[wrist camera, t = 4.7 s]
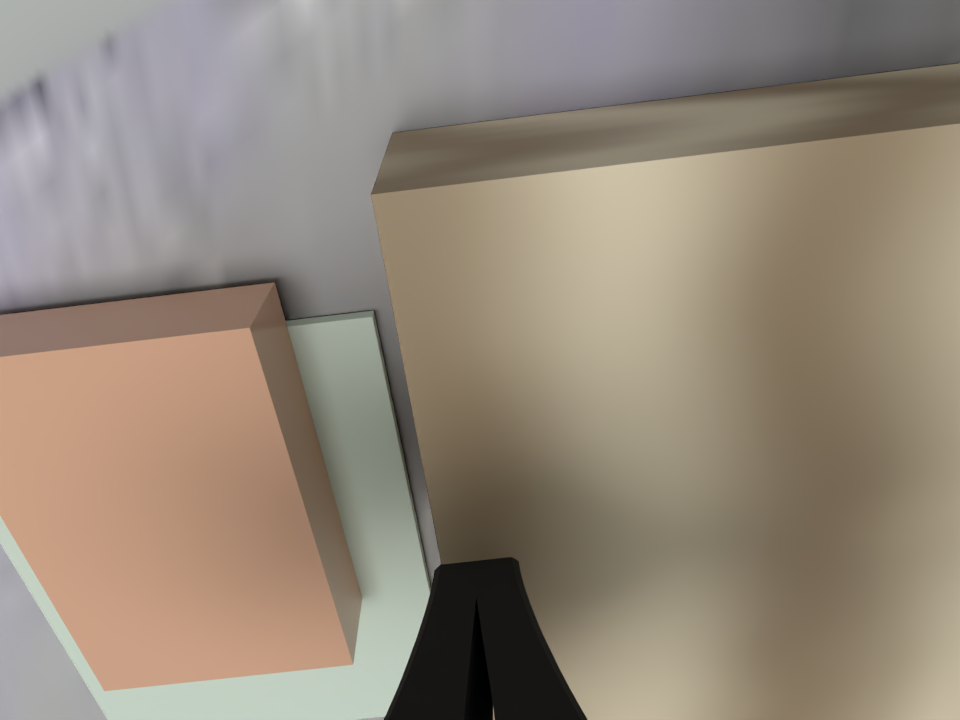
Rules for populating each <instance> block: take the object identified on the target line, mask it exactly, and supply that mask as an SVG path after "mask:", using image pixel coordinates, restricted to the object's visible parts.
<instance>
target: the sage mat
mask: <svg viewBox="0 0 960 720" xmlns="http://www.w3.org/2000/svg"><path fill="white" fill-rule="evenodd" d="M286 325H287V328H288V332H289V336H290V339H291V343H292V346H293V350H294V354H295V357H296V361H297V364H298V368H299V372H300V375H301V379H302V382H303V386H304V390H305V393H306V397H307V400H308V404H309V408H310V411H311V415H312V418H313V422H314V426H315V429H316V433H317V436H318V440H319V444H320V447H321V451H322V454H323V458H324V462H325V465H326V469H327V473H328V476H329V480H330V483H331V487H332V491H333V494H334V498H335V501H336V505H337V509H338V512H339V516H340V519H341V523H342V527H343V530H344V534H345V537H346V541H347V545H348V548H349V552H350V555H351V559H352V563H353V566H354V570H355V573H356V577H357V581H358V584H359V588H360V592H361V595H362V605H361V612H360V619H359V626H358V634H357V641H356V648H355V655H354V663H353V665H347V666H337V667H328V668H319V669H309V670H300V671H290V672H281V673H272V674H262V675H253V676H243V677H234V678H225V679H215V680H206V681H196V682H187V683H178V684H168V685H159V686H149V687H140V688H131V689H121V690H112V691H104V690H103V688H102V686H101V685H100V683H99V681H98V680H97V678H96V676H95V675H94V673H93V671H92V669H91V668H90V666H89V664H88V663H87V661H86V659H85V658H84V656H83V654H82V653H81V651H80V649H79V648H78V646H77V644H76V643H75V641H74V639H73V637H72V636H71V634H70V632H69V631H68V629H67V627H66V626H65V624H64V622H63V621H62V619H61V617H60V616H59V614H58V612H57V611H56V609H55V607H54V605H53V604H52V602H51V600H50V599H49V597H48V595H47V594H46V592H45V590H44V589H43V587H42V585H41V584H40V582H39V580H38V579H37V577H36V575H35V573H34V572H33V570H32V568H31V567H30V565H29V563H28V562H27V560H26V558H25V557H24V555H23V553H22V552H21V550H20V548H19V547H18V545H17V543H16V541H15V540H14V538H13V536H12V535H11V533H10V531H9V530H8V528H7V526H6V525H5V523H4V521H3V520H2V518H1V516H0V544H1V545H2V547H3V549H4V550H5V552H6V554H7V555H8V557H9V558H10V560H11V562H12V563H13V565H14V567H15V568H16V570H17V572H18V573H19V575H20V576H21V578H22V580H23V581H24V583H25V585H26V586H27V588H28V590H29V591H30V593H31V595H32V596H33V598H34V599H35V601H36V603H37V604H38V606H39V608H40V609H41V611H42V613H43V614H44V616H45V618H46V619H47V621H48V622H49V624H50V626H51V627H52V629H53V631H54V632H55V634H56V636H57V637H58V639H59V641H60V642H61V644H62V645H63V647H64V649H65V650H66V652H67V654H68V655H69V657H70V659H71V660H72V662H73V664H74V665H75V667H76V668H77V670H78V672H79V673H80V675H81V677H82V678H83V680H84V682H85V683H86V685H87V686H88V688H89V690H90V691H91V693H92V695H93V696H94V698H95V700H96V701H97V703H98V705H99V706H100V708H101V709H102V711H103V713H104V714H105V716H106V718H107V719H108V720H356V719H365V718H375V717H384V716H386V714H387V711H388V709H389V707H390V704H391V702H392V700H393V698H394V695H395V693H396V691H397V688H398V686H399V684H400V681H401V679H402V676H403V673H404V671H405V668H406V665H407V663H408V660H409V657H410V654H411V652H412V649H413V646H414V644H415V641H416V638H417V635H418V632H419V629H420V626H421V623H422V620H423V617H424V613H425V610H426V606H427V603H428V599H429V595H430V591H431V586H430V582H429V577H428V572H427V567H426V562H425V557H424V552H423V547H422V543H421V538H420V533H419V528H418V523H417V518H416V513H415V509H414V504H413V499H412V494H411V489H410V484H409V479H408V475H407V470H406V465H405V460H404V455H403V450H402V445H401V441H400V436H399V431H398V426H397V421H396V416H395V411H394V407H393V402H392V397H391V392H390V387H389V382H388V377H387V373H386V368H385V363H384V358H383V353H382V348H381V343H380V339H379V334H378V329H377V324H376V319H375V314H374V311H365V312H357V313H348V314H340V315H331V316H323V317H314V318H306V319H297V320H289V321H286Z"/></svg>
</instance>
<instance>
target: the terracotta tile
mask: <svg viewBox="0 0 960 720" xmlns="http://www.w3.org/2000/svg"><path fill="white" fill-rule="evenodd" d="M0 516H1V518H2V520H3V521H4V523H5V525H6V526H7V528H8V530H9V531H10V533H11V535H12V536H13V538H14V540H15V541H16V543H17V545H18V547H19V548H20V550H21V552H22V553H23V555H24V557H25V558H26V560H27V562H28V563H29V565H30V567H31V568H32V570H33V572H34V573H35V575H36V577H37V579H38V580H39V582H40V584H41V585H42V587H43V589H44V590H45V592H46V594H47V595H48V597H49V599H50V600H51V602H52V604H53V605H54V607H55V609H56V611H57V612H58V614H59V616H60V617H61V619H62V621H63V622H64V624H65V626H66V627H67V629H68V631H69V632H70V634H71V636H72V637H73V639H74V641H75V643H76V644H77V646H78V648H79V649H80V651H81V653H82V654H83V656H84V658H85V659H86V661H87V663H88V664H89V666H90V668H91V669H92V671H93V673H94V675H95V676H96V678H97V680H98V681H99V683H100V685H101V686H102V688H103V690H104V691H112V690H121V689H131V688H140V687H149V686H159V685H168V684H178V683H187V682H196V681H206V680H215V679H225V678H234V677H243V676H253V675H262V674H272V673H281V672H290V671H300V670H309V669H319V668H328V667H337V666H347V665H353V663H354V655H355V648H356V641H357V634H358V626H359V619H360V612H361V605H362V595H361V592H360V588H359V584H358V581H357V577H356V573H355V570H354V566H353V563H352V559H351V555H350V552H349V548H348V545H347V541H346V537H345V534H344V530H343V527H342V523H341V519H340V516H339V512H338V509H337V505H336V501H335V498H334V494H333V491H332V487H331V483H330V480H329V476H328V473H327V469H326V465H325V462H324V458H323V454H322V451H321V447H320V444H319V440H318V436H317V433H316V429H315V426H314V422H313V418H312V415H311V411H310V408H309V404H308V400H307V397H306V393H305V390H304V386H303V382H302V379H301V375H300V372H299V368H298V364H297V361H296V357H295V354H294V350H293V346H292V343H291V339H290V336H289V332H288V328H287V325H286V321H285V317H284V314H283V310H282V307H281V303H280V299H279V296H278V292H277V289H276V285H275V282H274V283H266V284H257V285H249V286H240V287H232V288H223V289H215V290H207V291H198V292H190V293H181V294H173V295H164V296H156V297H148V298H139V299H131V300H122V301H114V302H105V303H97V304H89V305H80V306H72V307H63V308H55V309H46V310H38V311H30V312H21V313H13V314H4V315H0Z"/></svg>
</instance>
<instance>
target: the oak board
mask: <svg viewBox="0 0 960 720" xmlns="http://www.w3.org/2000/svg"><path fill="white" fill-rule="evenodd" d="M371 198H372V203H373V208H374V213H375V219H376V224H377V229H378V234H379V239H380V245H381V250H382V255H383V260H384V266H385V271H386V276H387V281H388V287H389V292H390V297H391V302H392V308H393V313H394V318H395V323H396V329H397V334H398V339H399V344H400V350H401V355H402V360H403V365H404V371H405V376H406V381H407V386H408V392H409V397H410V402H411V407H412V413H413V418H414V423H415V428H416V434H417V439H418V444H419V449H420V454H421V460H422V465H423V470H424V475H425V481H426V486H427V491H428V496H429V502H430V507H431V512H432V517H433V523H434V528H435V533H436V538H437V544H438V549H439V554H440V559H441V565H442V564H451V563H460V562H469V561H478V560H487V559H496V558H505V557H513V558H514V559H516V560H517V561H519V566H520V571H521V575H522V579H523V583H524V586H525V589H526V593H527V595H528V598H529V601H530V604H531V606H532V609H533V611H534V614H535V616H536V619H537V622H538V624H539V626H540V629H541V631H542V633H543V635H544V638H545V640H546V642H547V644H548V646H549V648H550V650H551V652H552V654H553V656H554V658H555V660H556V662H557V664H558V666H559V669H560V671H561V672H562V674H563V676H564V678H565V680H566V682H567V684H568V686H569V688H570V689H571V691H572V693H573V695H574V697H575V698H576V700H577V702H578V704H579V705H580V707H581V709H582V711H583V713H584V714H585V716H586V718H587V719H588V720H960V63H958V64H950V65H942V66H934V67H925V68H917V69H909V70H901V71H893V72H885V73H876V74H868V75H860V76H852V77H844V78H836V79H828V80H819V81H811V82H803V83H795V84H787V85H779V86H771V87H762V88H754V89H746V90H738V91H730V92H722V93H713V94H705V95H697V96H689V97H681V98H673V99H665V100H656V101H648V102H640V103H632V104H624V105H616V106H607V107H599V108H591V109H583V110H575V111H567V112H559V113H550V114H542V115H534V116H526V117H518V118H510V119H502V120H493V121H485V122H477V123H469V124H461V125H453V126H444V127H436V128H428V129H420V130H412V131H404V132H396V133H392V135H391V138H390V141H389V144H388V147H387V150H386V153H385V156H384V158H383V161H382V164H381V167H380V170H379V173H378V176H377V179H376V182H375V184H374V187H373V190H372V193H371ZM493 720H495V716H494V707H493Z"/></svg>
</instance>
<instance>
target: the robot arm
mask: <svg viewBox="0 0 960 720" xmlns="http://www.w3.org/2000/svg"><path fill="white" fill-rule="evenodd" d="M493 707H494V716H495V720H588V719H587V718H586V716H585V714H584V713H583V711H582V709H581V707H580V705H579V704H578V702H577V700H576V698H575V697H574V695H573V693H572V691H571V689H570V688H569V686H568V684H567V682H566V680H565V678H564V676H563V674H562V672H561V671H560V669H559V666H558V664H557V662H556V660H555V658H554V656H553V654H552V652H551V650H550V648H549V646H548V644H547V642H546V640H545V638H544V635H543V633H542V631H541V629H540V626H539V624H538V622H537V619H536V616H535V614H534V611H533V609H532V606H531V604H530V601H529V598H528V595H527V593H526V589H525V586H524V583H523V579H522V575H521V571H520V566H519V561H517V560H516V559H514V558H513V557H505V558H496V559H487V560H478V561H469V562H460V563H451V564H442V565H440V566H439V567H438V568H437V569H436V570H435V572H434V578H433V583H432V587H431V591H430V595H429V599H428V603H427V606H426V610H425V613H424V617H423V620H422V623H421V626H420V629H419V632H418V635H417V638H416V641H415V644H414V646H413V649H412V652H411V654H410V657H409V660H408V663H407V665H406V668H405V671H404V673H403V676H402V679H401V681H400V684H399V686H398V688H397V691H396V693H395V695H394V698H393V700H392V702H391V704H390V707H389V709H388V711H387V714H386V716H385V718H384V720H493Z"/></svg>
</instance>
